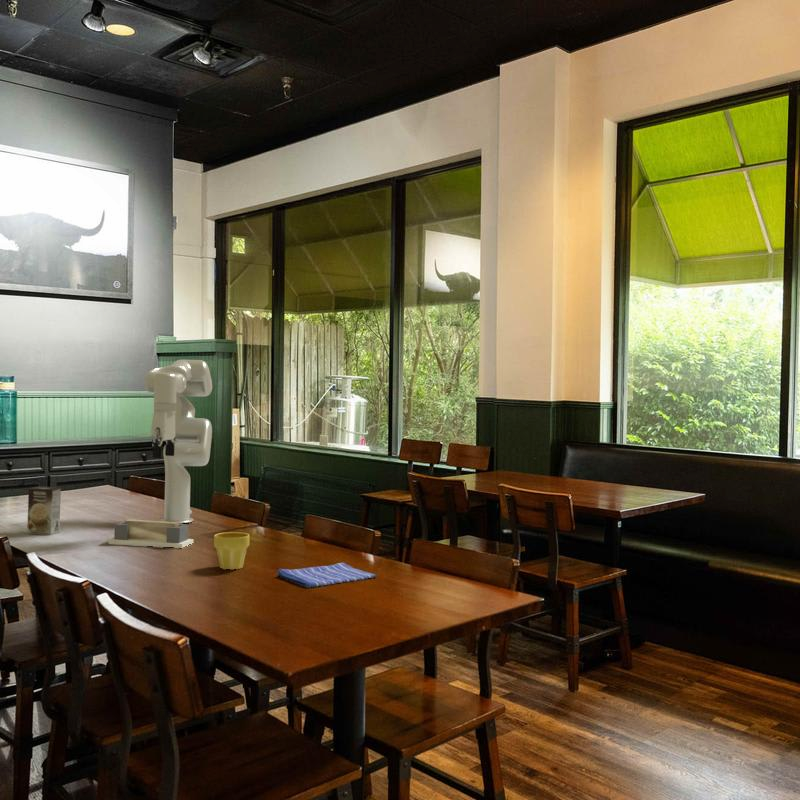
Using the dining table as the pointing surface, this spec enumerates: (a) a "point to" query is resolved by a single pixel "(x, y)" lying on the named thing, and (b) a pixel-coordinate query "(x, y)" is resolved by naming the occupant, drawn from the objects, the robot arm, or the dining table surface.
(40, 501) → the coffee box
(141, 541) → the end cap board
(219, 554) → the plant pot
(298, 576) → the dish towel
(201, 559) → the dining table surface
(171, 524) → the slat
